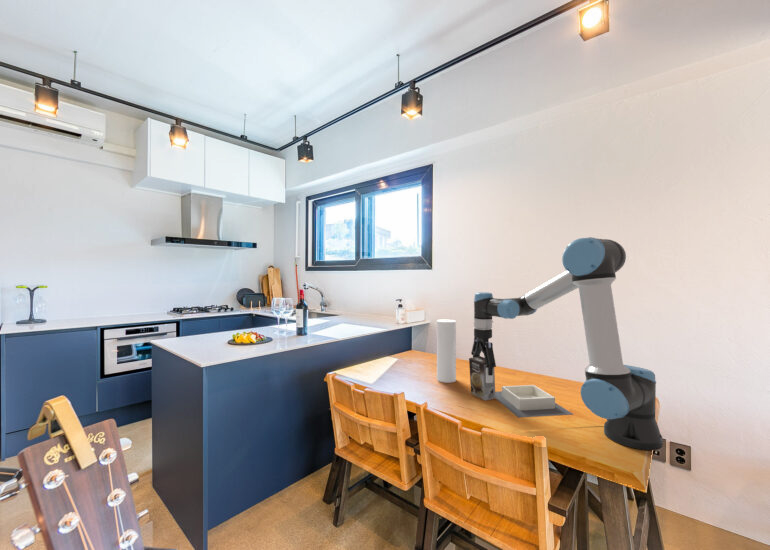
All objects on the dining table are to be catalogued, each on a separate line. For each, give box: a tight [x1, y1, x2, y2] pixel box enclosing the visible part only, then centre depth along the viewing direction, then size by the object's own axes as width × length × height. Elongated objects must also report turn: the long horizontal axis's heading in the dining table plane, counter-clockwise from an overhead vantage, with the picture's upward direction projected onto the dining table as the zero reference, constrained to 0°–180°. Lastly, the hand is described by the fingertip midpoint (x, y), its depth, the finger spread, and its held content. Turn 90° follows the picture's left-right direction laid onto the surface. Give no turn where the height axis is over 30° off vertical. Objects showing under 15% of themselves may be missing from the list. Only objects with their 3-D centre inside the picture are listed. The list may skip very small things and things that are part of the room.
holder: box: [501, 384, 556, 410], centre depth 135 cm, size 15×15×4 cm
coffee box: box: [468, 355, 496, 401], centre depth 142 cm, size 9×6×16 cm
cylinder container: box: [436, 318, 457, 384], centre depth 165 cm, size 9×9×30 cm
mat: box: [495, 390, 574, 419], centre depth 135 cm, size 26×22×1 cm
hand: (482, 377), depth 143 cm, fingers open, 13 cm apart
